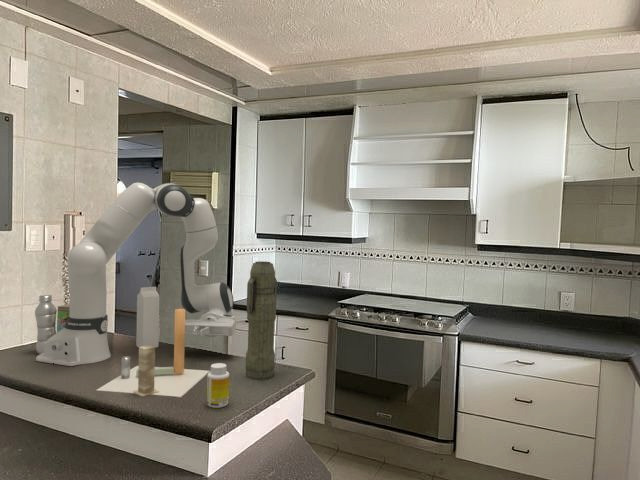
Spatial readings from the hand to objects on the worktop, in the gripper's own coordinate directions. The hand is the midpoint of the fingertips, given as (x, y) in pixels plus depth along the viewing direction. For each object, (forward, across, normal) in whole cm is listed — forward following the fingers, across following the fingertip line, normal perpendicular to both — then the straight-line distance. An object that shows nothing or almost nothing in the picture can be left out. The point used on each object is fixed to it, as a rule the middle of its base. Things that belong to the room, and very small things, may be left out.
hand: (197, 332), depth 157 cm
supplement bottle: (+32, +18, +10) cm, 38 cm away
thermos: (+7, +23, +11) cm, 26 cm away
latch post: (+28, -3, +10) cm, 30 cm away
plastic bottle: (0, -53, +10) cm, 54 cm away
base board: (+19, -5, +10) cm, 22 cm away
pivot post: (+19, -15, +10) cm, 26 cm away
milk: (-16, -25, +10) cm, 31 cm away
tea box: (-16, -51, +10) cm, 54 cm away
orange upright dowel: (+15, -6, +9) cm, 18 cm away
